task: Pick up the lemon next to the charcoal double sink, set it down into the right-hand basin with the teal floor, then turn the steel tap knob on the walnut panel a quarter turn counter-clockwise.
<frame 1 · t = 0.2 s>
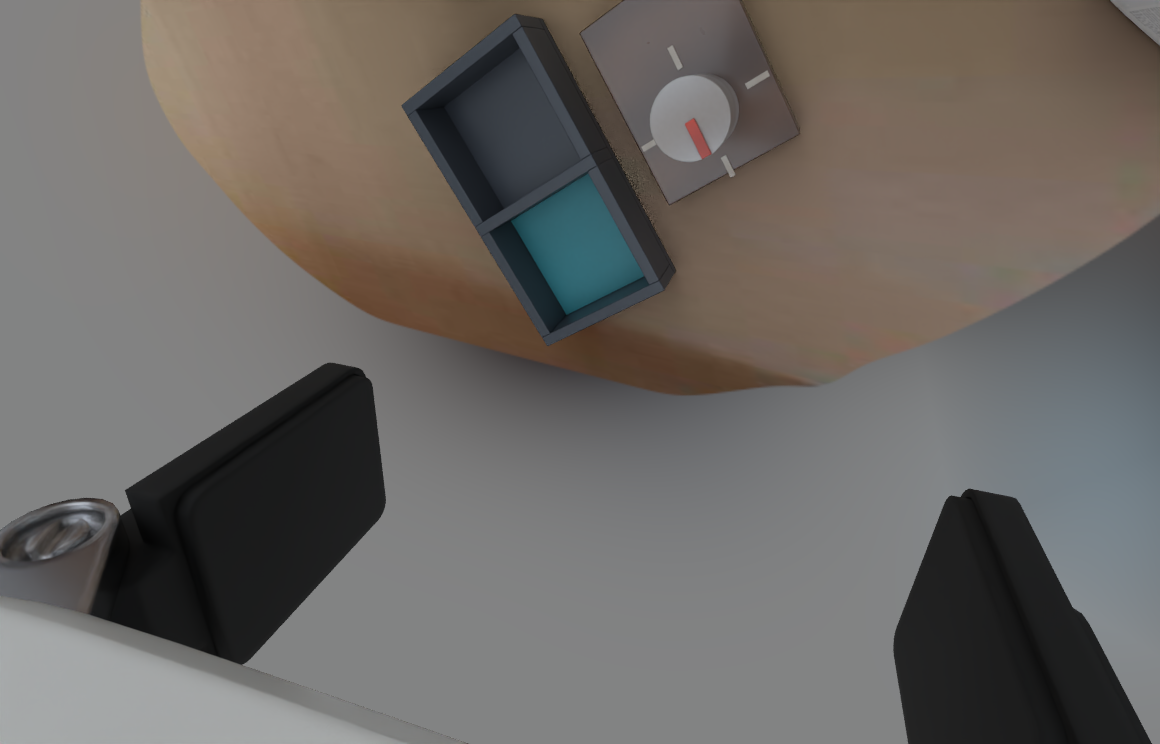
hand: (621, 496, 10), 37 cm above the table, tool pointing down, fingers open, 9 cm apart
tap knob: (696, 116, 36), point 6 cm above the table, hinge at 0.0°
tap panel: (694, 81, 41), on the table
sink: (556, 186, 47), on the table
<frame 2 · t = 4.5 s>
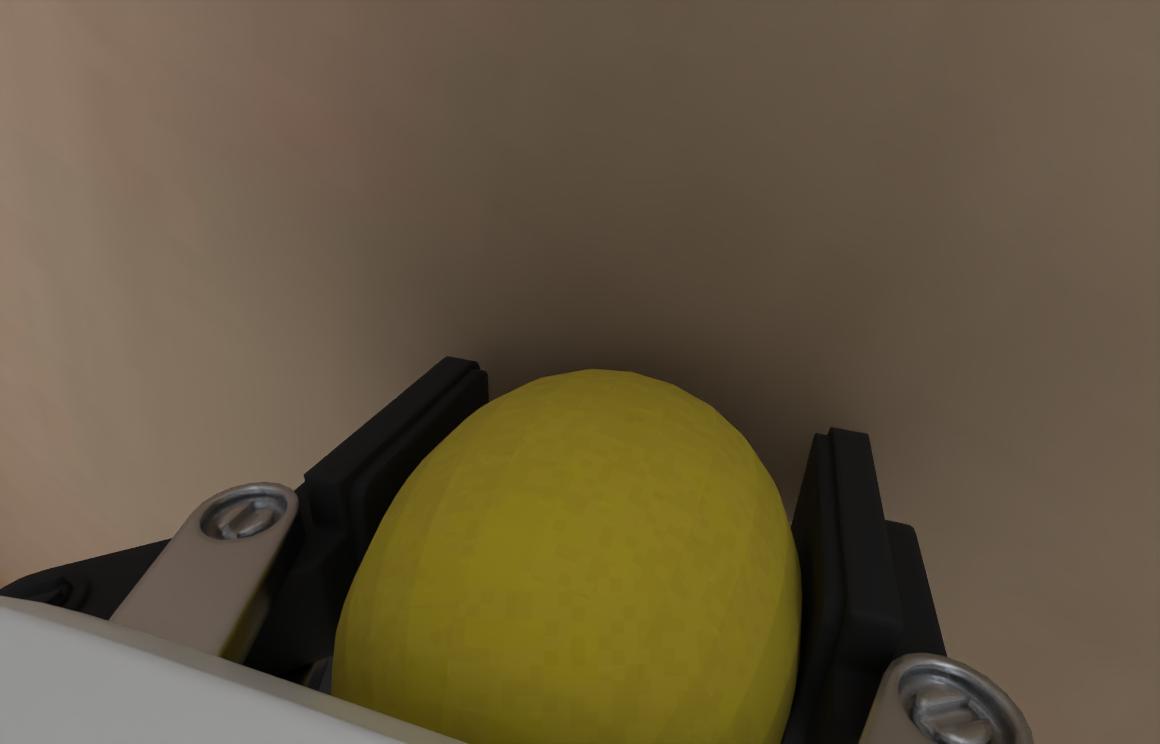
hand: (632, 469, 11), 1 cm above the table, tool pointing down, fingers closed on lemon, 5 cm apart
lemon: (648, 431, 12), on the table, touching gripper
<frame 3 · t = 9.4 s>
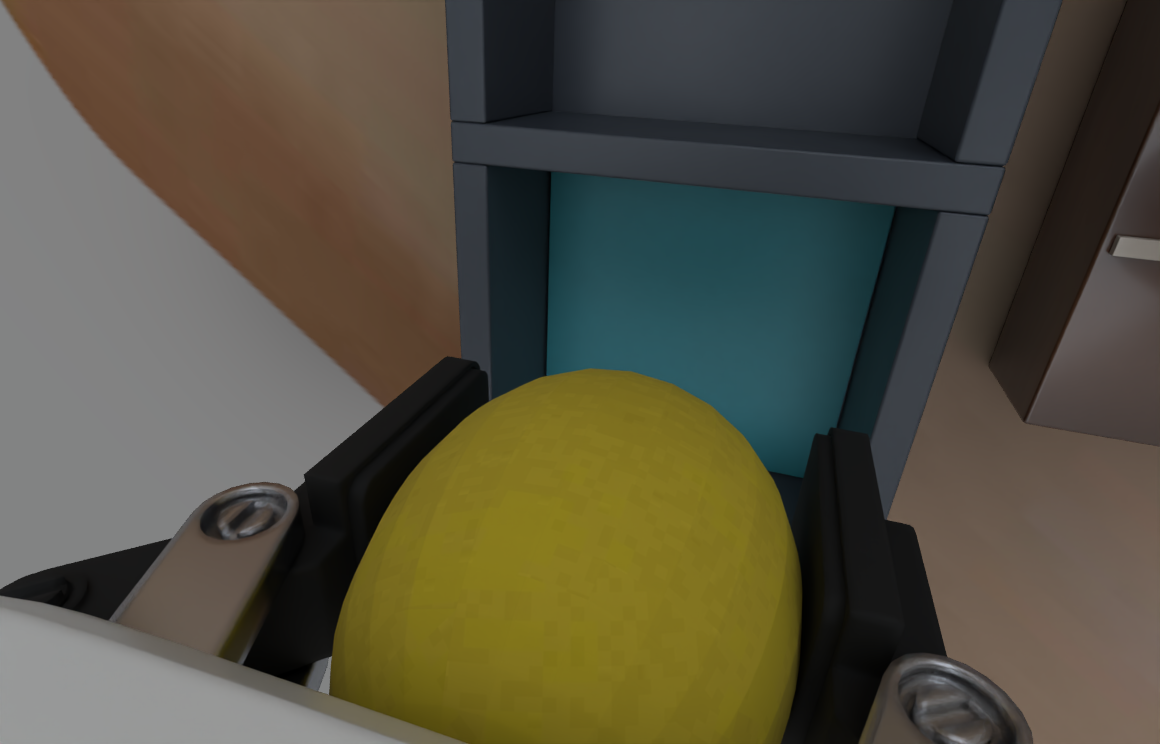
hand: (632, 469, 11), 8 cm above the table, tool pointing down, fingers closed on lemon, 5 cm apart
lemon: (648, 431, 12), point 7 cm above the table, touching gripper
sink: (722, 138, 16), on the table
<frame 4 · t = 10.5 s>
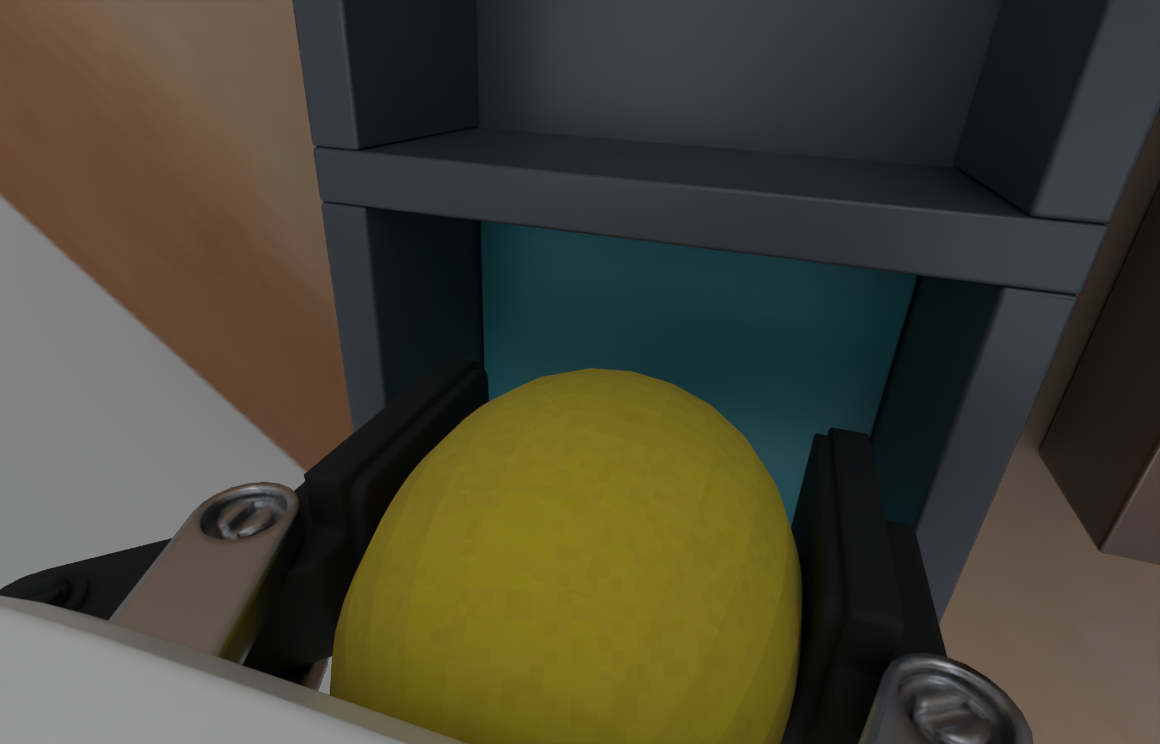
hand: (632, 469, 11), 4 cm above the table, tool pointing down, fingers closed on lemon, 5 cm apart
lemon: (648, 431, 12), point 3 cm above the table, touching gripper
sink: (697, 162, 12), on the table
when the fingers open (4 cm above the table, at t = 14.6 s): lemon drops 2 cm, resting on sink.
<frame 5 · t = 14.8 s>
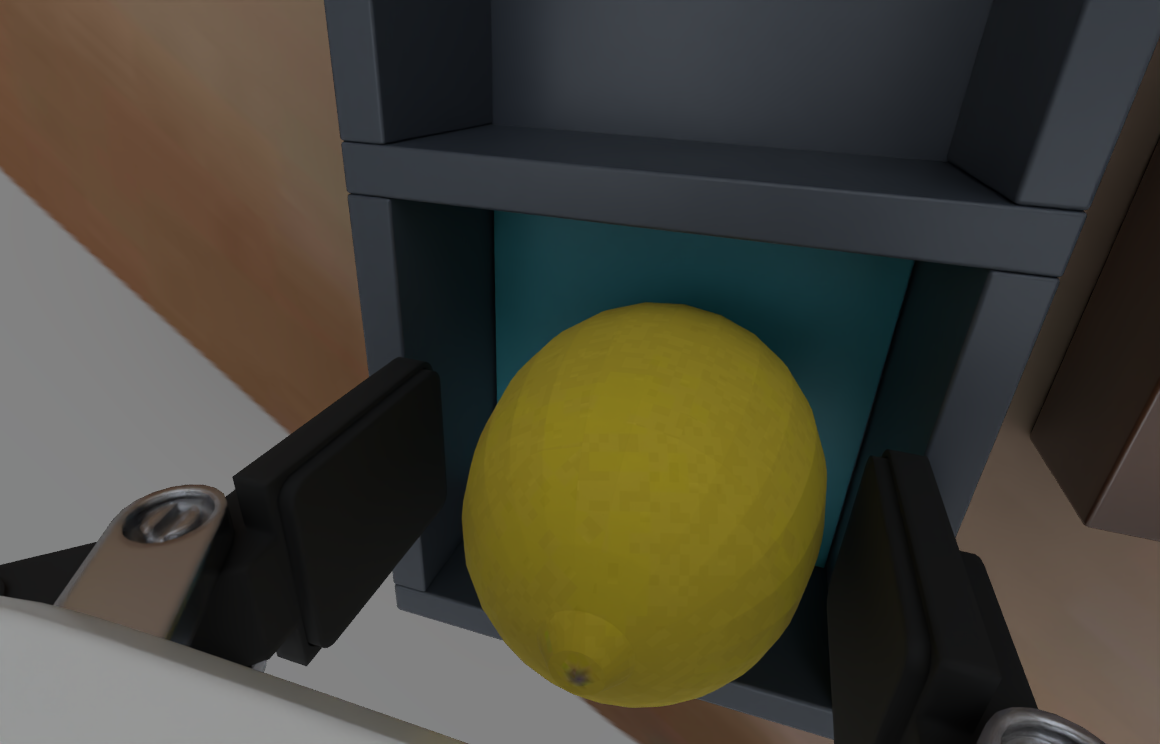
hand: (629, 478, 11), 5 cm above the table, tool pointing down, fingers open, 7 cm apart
lemon: (686, 371, 14), point 1 cm above the table, touching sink
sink: (702, 157, 13), on the table
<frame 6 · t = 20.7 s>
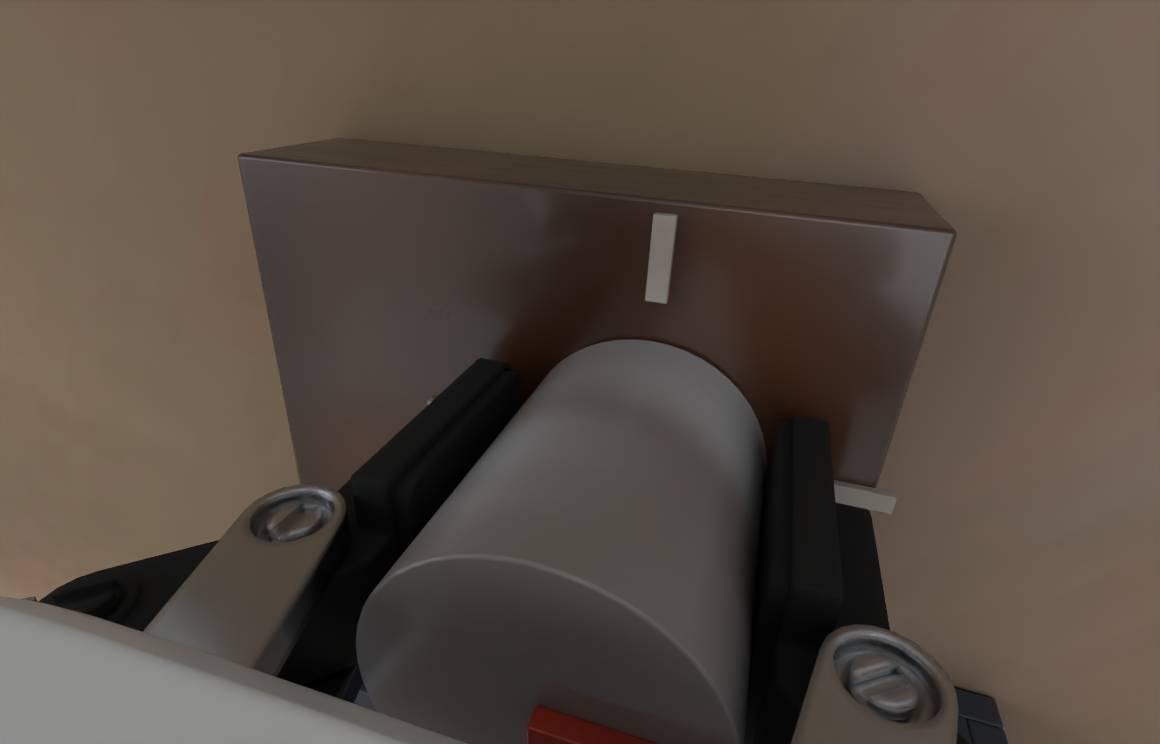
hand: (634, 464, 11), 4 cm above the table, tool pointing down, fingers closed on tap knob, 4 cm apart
tap knob: (597, 556, 9), point 6 cm above the table, hinge at 0.1°, touching gripper
tap panel: (584, 363, 15), on the table
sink: (596, 710, 20), on the table
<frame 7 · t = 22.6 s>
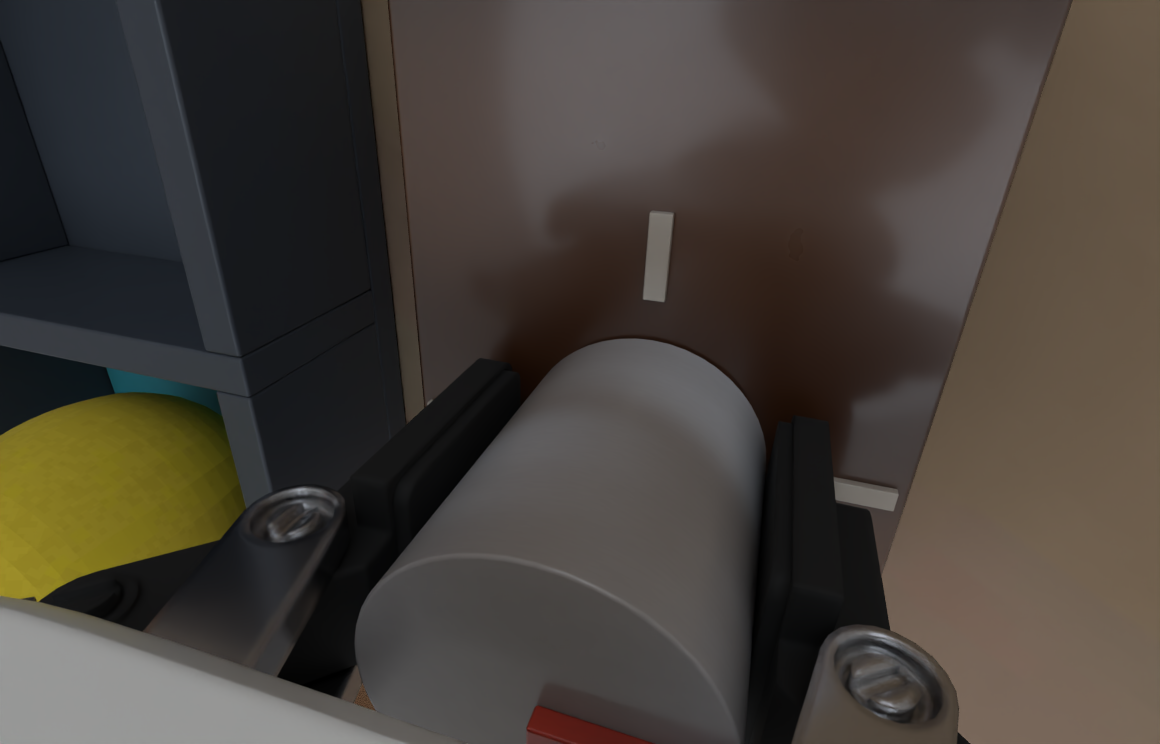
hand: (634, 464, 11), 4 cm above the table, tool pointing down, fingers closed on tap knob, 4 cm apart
lemon: (247, 430, 18), point 1 cm above the table, touching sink
tap knob: (597, 555, 9), point 6 cm above the table, hinge at 89.1°, touching gripper
tap panel: (679, 293, 13), on the table
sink: (225, 270, 17), on the table
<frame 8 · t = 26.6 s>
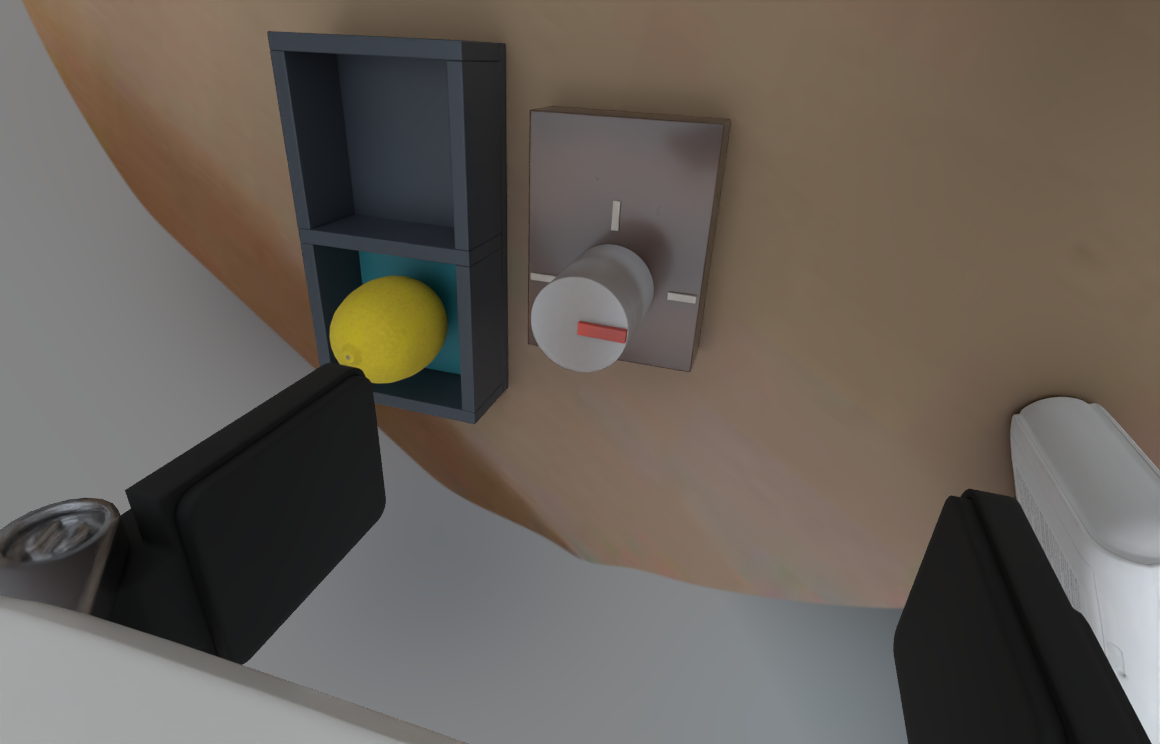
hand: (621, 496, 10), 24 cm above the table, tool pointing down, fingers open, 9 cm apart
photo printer: (1058, 480, 32), on the table
lemon: (430, 303, 38), point 1 cm above the table, touching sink
tap knob: (595, 306, 29), point 6 cm above the table, hinge at 88.5°
tap panel: (628, 234, 33), on the table
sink: (427, 226, 37), on the table
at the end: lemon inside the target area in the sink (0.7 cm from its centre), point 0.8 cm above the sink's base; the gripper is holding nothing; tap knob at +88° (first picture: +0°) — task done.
